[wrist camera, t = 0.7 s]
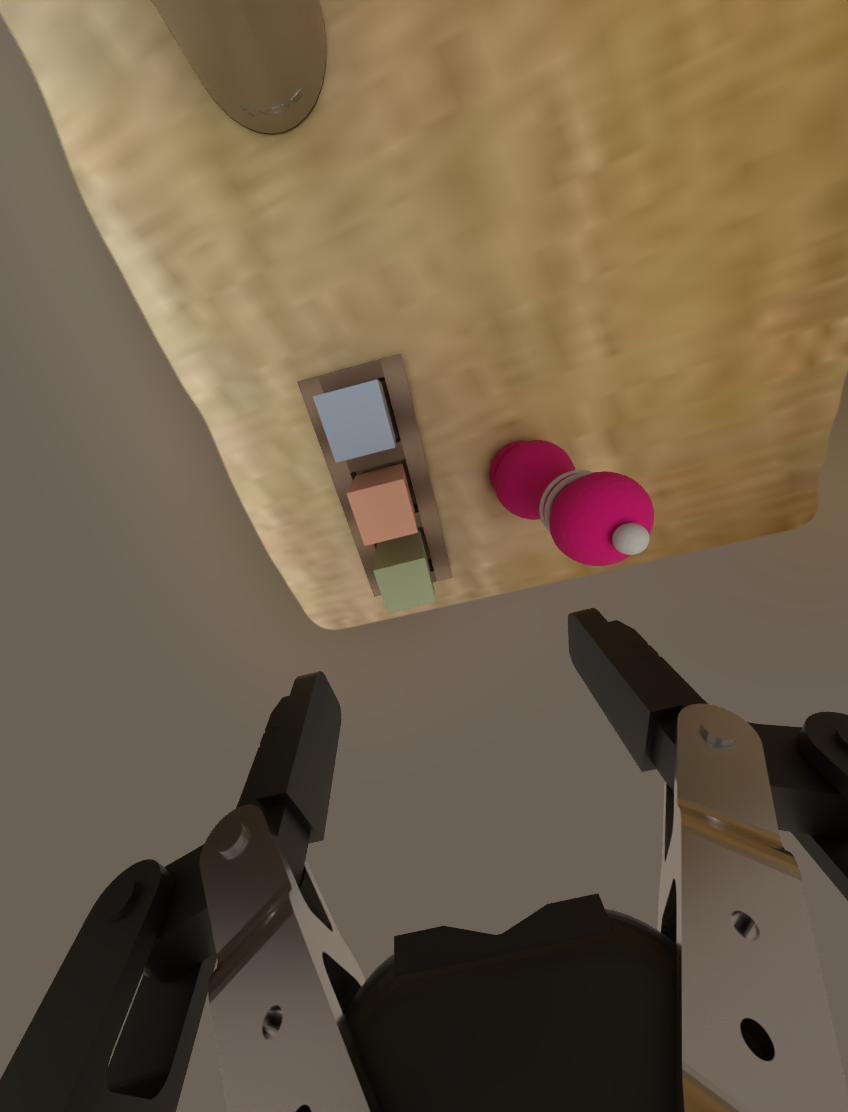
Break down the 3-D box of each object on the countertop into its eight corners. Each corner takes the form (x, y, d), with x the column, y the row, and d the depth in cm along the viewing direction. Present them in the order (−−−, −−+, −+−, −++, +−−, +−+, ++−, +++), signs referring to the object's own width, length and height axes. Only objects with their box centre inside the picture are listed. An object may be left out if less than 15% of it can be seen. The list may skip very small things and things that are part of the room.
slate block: (330, 396, 29) (312, 396, 23) (381, 383, 29) (377, 379, 23) (347, 449, 31) (335, 462, 25) (395, 437, 31) (395, 447, 25)
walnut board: (306, 383, 31) (297, 381, 28) (400, 357, 31) (400, 353, 28) (375, 583, 40) (374, 596, 38) (448, 565, 40) (452, 577, 37)
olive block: (377, 539, 35) (373, 570, 29) (419, 529, 35) (424, 557, 29) (389, 576, 37) (387, 613, 31) (429, 567, 37) (436, 601, 31)
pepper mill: (563, 477, 37) (724, 554, 19) (506, 516, 38) (606, 623, 20) (531, 420, 34) (684, 446, 16) (472, 465, 35) (550, 535, 17)
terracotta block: (356, 474, 32) (346, 493, 26) (402, 462, 32) (403, 478, 26) (370, 518, 34) (364, 546, 28) (414, 507, 34) (418, 532, 28)
